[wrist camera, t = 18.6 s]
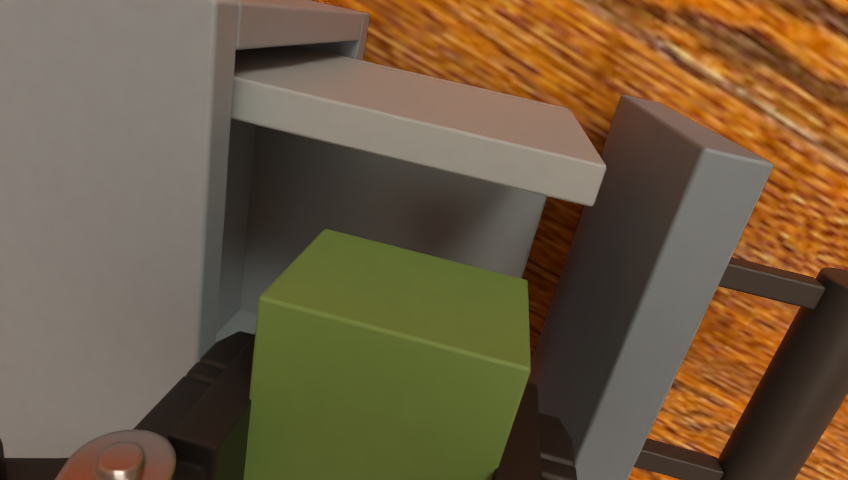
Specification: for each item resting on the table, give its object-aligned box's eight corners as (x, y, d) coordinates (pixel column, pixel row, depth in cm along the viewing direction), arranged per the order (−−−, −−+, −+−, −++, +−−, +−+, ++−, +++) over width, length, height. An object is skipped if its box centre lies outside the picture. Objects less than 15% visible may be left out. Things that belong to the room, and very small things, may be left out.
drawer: (836, 142, 16) (1103, 240, 9) (683, 445, 20) (776, 678, 13) (257, 10, 17) (65, -3, 10) (232, 322, 21) (86, 472, 14)
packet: (324, 226, 10) (257, 296, 7) (528, 278, 10) (532, 370, 7) (291, 457, 12) (230, 572, 10) (457, 505, 12) (441, 637, 9)
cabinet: (370, 14, 17) (217, -1, 8) (319, 345, 22) (187, 556, 13) (-22, -75, 18) (-529, -171, 9) (11, 261, 23) (-304, 406, 14)
